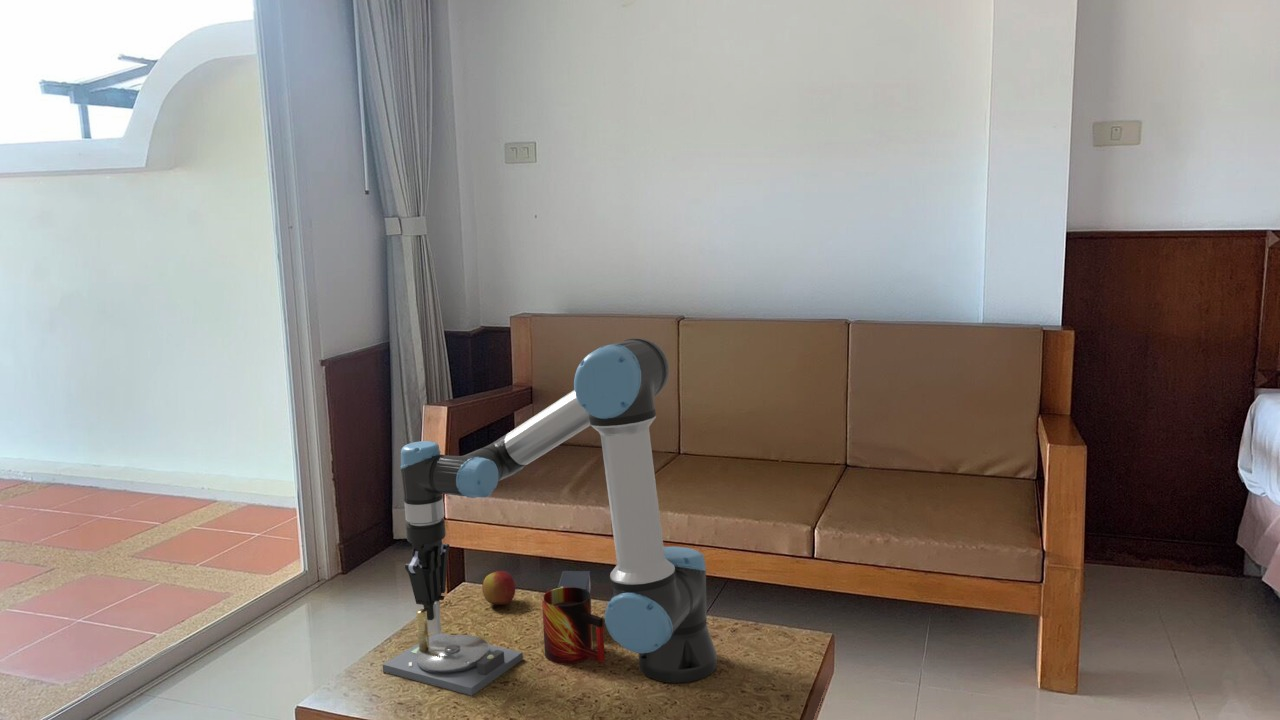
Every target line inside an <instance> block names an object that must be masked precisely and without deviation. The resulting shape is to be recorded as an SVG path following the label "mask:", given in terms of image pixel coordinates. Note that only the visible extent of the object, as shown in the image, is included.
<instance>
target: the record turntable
mask: <svg viewBox="0 0 1280 720" xmlns="http://www.w3.org/2000/svg"><path fill="white" fill-rule="evenodd" d="M450 635H451V634H447V633H442V632H441V633H439V634H432V635H430V636H429V641H432V640H434V639H437V638H440V637H445V636H450ZM488 646H489V655H488V656H486V657H485V658H483V659H482V660H480V661H479V662H477V666H475V667H472V668H469V669H466V670H463V671H458V672H450V673H436V672H430V671H427V670H424V669H422V668H421V667H419V666H418V664H417V660H416V653H417V651H418V649H419V643H417V644H415V645H413V646H412V647H409V649H406V650H405V651H402V652H401V653H399V654H398V655H396V656H394V657H393V658H391V659H389V660H388V661H386V662H384V663H382V672H383V673H387V674H391V675H393V676H397V677H400V678H401V677H402V678H405V679H409V680H413V681H415V682H420V683H424V684H427V685H430V686H434V687H438V688H442V689H444V690H449V691H452V692H456V693H460V694H462V695H463V694H464V695H467V696H471V697H472V696H474V695H475V694H477V693H478V692H479V691H480V690H482V689H484V688H485V687H486V686H487V685H490V683H492V682H493V681H495V680H496V679H498V678H499V677H500V676H501V675H503V674H505V673H506V672H507V671H508V670H511V668H513V667H514V666H515V665H518V664H519V663H520V662H521V661H523V660H524V657H523V656H524V654H523V651H520V650H519V651H518V650H514V649H509V648H505V647H502V646H498V645H493V644H489V643H488Z"/></svg>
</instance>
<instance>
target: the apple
mask: <svg viewBox="0 0 1280 720" xmlns="http://www.w3.org/2000/svg"><path fill="white" fill-rule="evenodd" d="M481 588H482V589H481V590H482V593H483V598H484V599H485V601H486V602H487V603H489V604H491V605H495V606H505V605H508V604H510V603H511V602H512V601H513V599H514V597H515V594H516V583H515V580H514V578H513V576H512V575H511V574H510V572H508V571H504V570H497V571H494V572H491V573H489V574H487V575H486V576H485V578H484V579H483V582H482V587H481Z"/></svg>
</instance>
